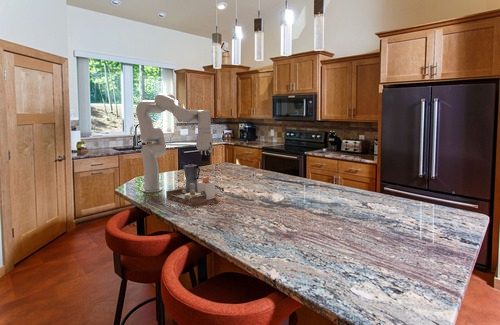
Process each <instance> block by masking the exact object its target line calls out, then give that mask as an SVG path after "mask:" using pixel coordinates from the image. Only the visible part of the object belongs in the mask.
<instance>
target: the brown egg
mask: <svg viewBox="0 0 500 325" xmlns="http://www.w3.org/2000/svg"><path fill="white" fill-rule="evenodd" d="M201 179H202V181H203V183H209V181H210V176H203V177H202V178H201Z"/></svg>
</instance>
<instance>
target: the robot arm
mask: <svg viewBox="0 0 500 325" xmlns="http://www.w3.org/2000/svg"><path fill="white" fill-rule="evenodd" d="M181 105H182V104H181V102H180V101H179V100H177V99H176V97H175V96H174V94H172V93H171V94H170V93H158V94H156V95H155V96H154V100H151V99H149V100H148V99H145V100H141V101H139V102H138V104H136V107H135V114H136V117H137V121H138V126H139V131H140V132H139V133H140V137H141V141H143V142H144V143H145V142H146V143H148V144H145V145H143V146H142V147H141V150H140V153H141V157H142V161H143V162H142V164H143V176H144V179H143V180H144V184H143V186H144V188H142V192H143V193H151V194H152V193H158V192H161V191H162V190H163V187H161V186H160V170H159V168H160V167H159V162H158V160H157V158H161V157H163V156H165V154H166V151H167V148H166V147H167V146H166V141H165V135H164V131H163V130H162V129H161V128H160V127H158V126H154V125H153V119H152V118H151V116H150V115H149V114H161V113H163V112H166V111H168V112H170V113H171V114H172V115H173V117H175V119H177V120H180V121H181V122H184V123H188V124H189V123H197V135H196V149H197V151H198V152H200V156H201V162H209V160H210V156H209V155H210V153H212V152H213V146H214V144H213V136H212V133H211V132H212V129H211V127H212V126H211V125H212V124H211V111H210V110H208V109H199V110H198V109H186V108H184V107H183V106H181ZM149 142H151V143H149ZM152 142H153V143H152Z"/></svg>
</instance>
